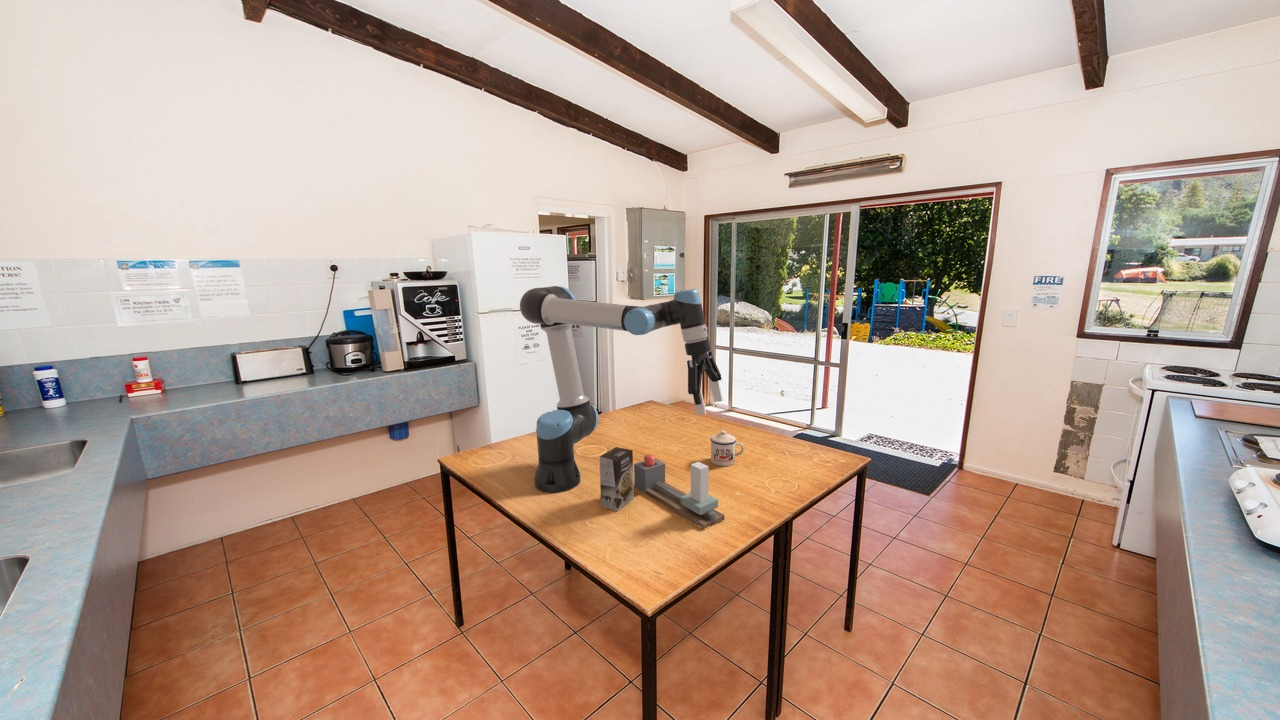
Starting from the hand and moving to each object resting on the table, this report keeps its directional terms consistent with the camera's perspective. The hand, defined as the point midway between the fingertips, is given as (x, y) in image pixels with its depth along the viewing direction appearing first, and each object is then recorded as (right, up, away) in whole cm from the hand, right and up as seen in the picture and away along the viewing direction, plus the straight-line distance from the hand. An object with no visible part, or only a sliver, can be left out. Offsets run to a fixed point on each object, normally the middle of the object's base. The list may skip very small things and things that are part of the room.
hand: (710, 407), depth 144 cm
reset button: (-19, -21, +7) cm, 29 cm away
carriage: (-5, -27, -11) cm, 29 cm away
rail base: (-9, -29, -4) cm, 31 cm away
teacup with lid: (+10, -23, +26) cm, 36 cm away
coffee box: (-29, -29, -2) cm, 41 cm away
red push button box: (-19, -27, +8) cm, 33 cm away
